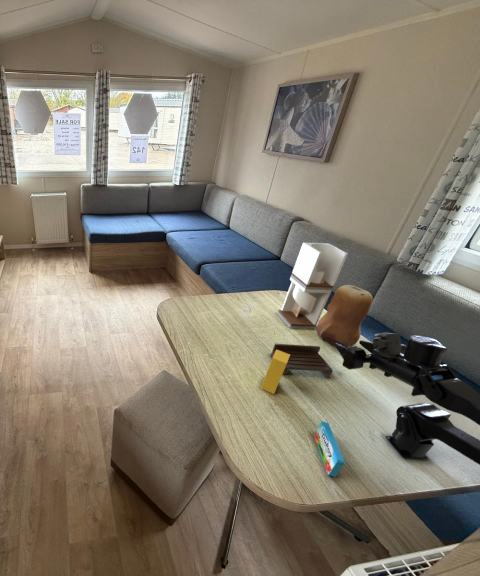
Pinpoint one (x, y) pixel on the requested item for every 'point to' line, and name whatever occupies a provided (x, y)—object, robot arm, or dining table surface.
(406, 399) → the dining table surface
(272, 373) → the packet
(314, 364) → the rack
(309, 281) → the white cubby shelf
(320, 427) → the blue food box
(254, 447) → the dining table surface
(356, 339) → the butternut squash
